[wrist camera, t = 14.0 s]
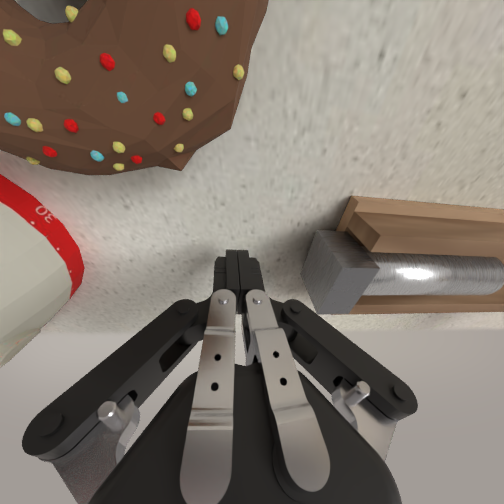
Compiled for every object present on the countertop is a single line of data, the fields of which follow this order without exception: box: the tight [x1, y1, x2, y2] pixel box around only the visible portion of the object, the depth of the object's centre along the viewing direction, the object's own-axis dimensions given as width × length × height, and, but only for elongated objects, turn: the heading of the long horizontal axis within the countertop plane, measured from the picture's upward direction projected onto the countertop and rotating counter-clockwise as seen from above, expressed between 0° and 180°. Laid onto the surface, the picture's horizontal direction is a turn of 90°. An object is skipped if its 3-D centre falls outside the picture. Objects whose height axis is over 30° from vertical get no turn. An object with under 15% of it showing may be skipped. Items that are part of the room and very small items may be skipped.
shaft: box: [300, 230, 504, 314], centre depth 15 cm, size 4×14×4 cm, turn 82°
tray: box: [332, 196, 504, 315], centre depth 18 cm, size 9×31×4 cm, turn 82°
